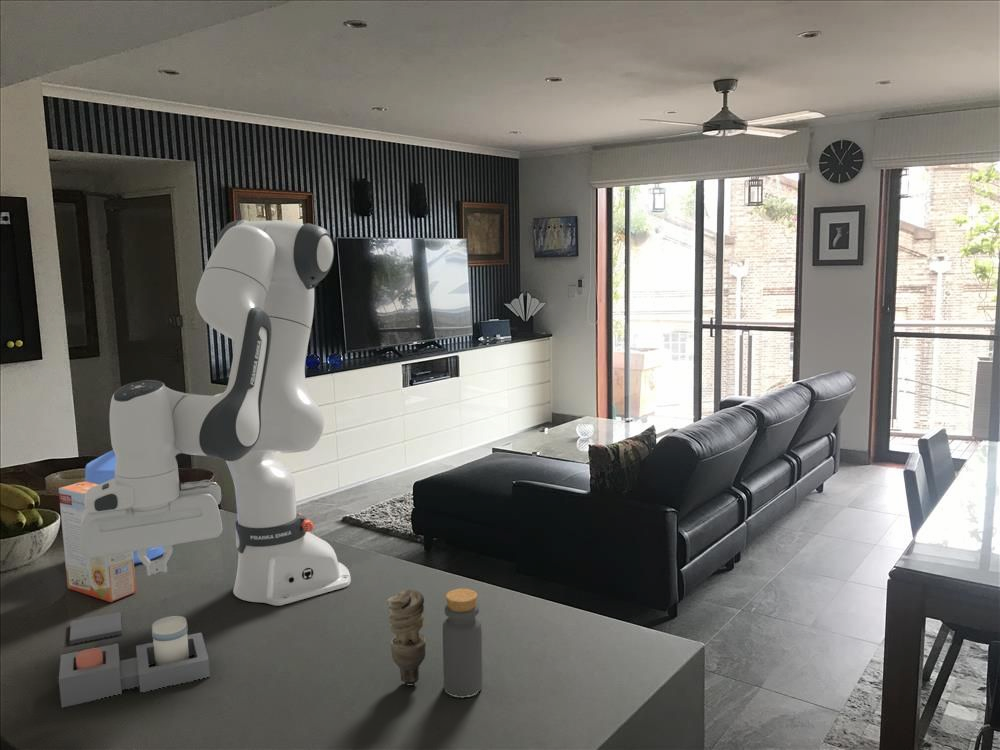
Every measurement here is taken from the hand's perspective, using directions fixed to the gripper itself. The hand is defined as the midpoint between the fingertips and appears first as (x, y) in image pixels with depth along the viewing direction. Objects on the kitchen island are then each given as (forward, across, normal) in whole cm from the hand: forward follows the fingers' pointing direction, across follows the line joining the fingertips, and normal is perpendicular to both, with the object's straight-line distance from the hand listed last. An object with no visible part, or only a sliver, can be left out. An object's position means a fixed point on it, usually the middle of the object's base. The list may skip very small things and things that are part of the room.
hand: (157, 572), depth 125 cm
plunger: (+15, +11, +1) cm, 19 cm away
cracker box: (+17, +10, -38) cm, 43 cm away
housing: (+16, +4, +1) cm, 17 cm away
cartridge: (+16, -1, +1) cm, 16 cm away
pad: (+16, +10, -20) cm, 28 cm away
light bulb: (+17, -33, +21) cm, 43 cm away
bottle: (+17, -40, +26) cm, 51 cm away
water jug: (+17, +4, -57) cm, 60 cm away
